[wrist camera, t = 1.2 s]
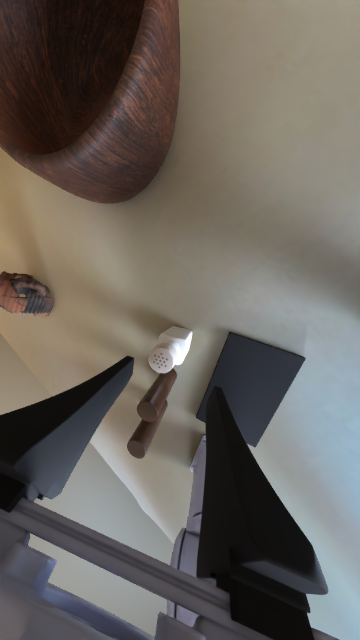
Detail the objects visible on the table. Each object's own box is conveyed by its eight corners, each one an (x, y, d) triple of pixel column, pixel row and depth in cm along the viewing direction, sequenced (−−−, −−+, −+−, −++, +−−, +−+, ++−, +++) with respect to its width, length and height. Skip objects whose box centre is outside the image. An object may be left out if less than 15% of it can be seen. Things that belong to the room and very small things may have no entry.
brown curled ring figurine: (44, 323, 34) (-12, 317, 27) (51, 292, 37) (3, 280, 31) (57, 303, 27) (-12, 289, 21) (64, 268, 31) (6, 246, 24)
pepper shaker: (172, 324, 24) (146, 340, 15) (193, 329, 23) (180, 349, 14) (169, 344, 25) (142, 370, 16) (189, 350, 24) (173, 381, 15)
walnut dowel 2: (165, 411, 27) (142, 462, 19) (152, 404, 28) (125, 451, 19) (169, 399, 27) (147, 447, 18) (156, 393, 27) (129, 436, 19)
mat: (254, 444, 24) (255, 447, 23) (196, 415, 26) (195, 418, 25) (303, 356, 20) (306, 358, 19) (229, 331, 22) (230, 332, 21)
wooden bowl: (228, 46, 17) (248, -324, 7) (149, 243, 23) (100, 201, 13) (82, 14, 20) (-44, -255, 10) (49, 192, 27) (-48, 129, 17)
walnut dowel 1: (174, 383, 26) (154, 425, 17) (160, 377, 26) (134, 415, 18) (178, 370, 25) (159, 407, 17) (164, 364, 26) (139, 397, 17)
